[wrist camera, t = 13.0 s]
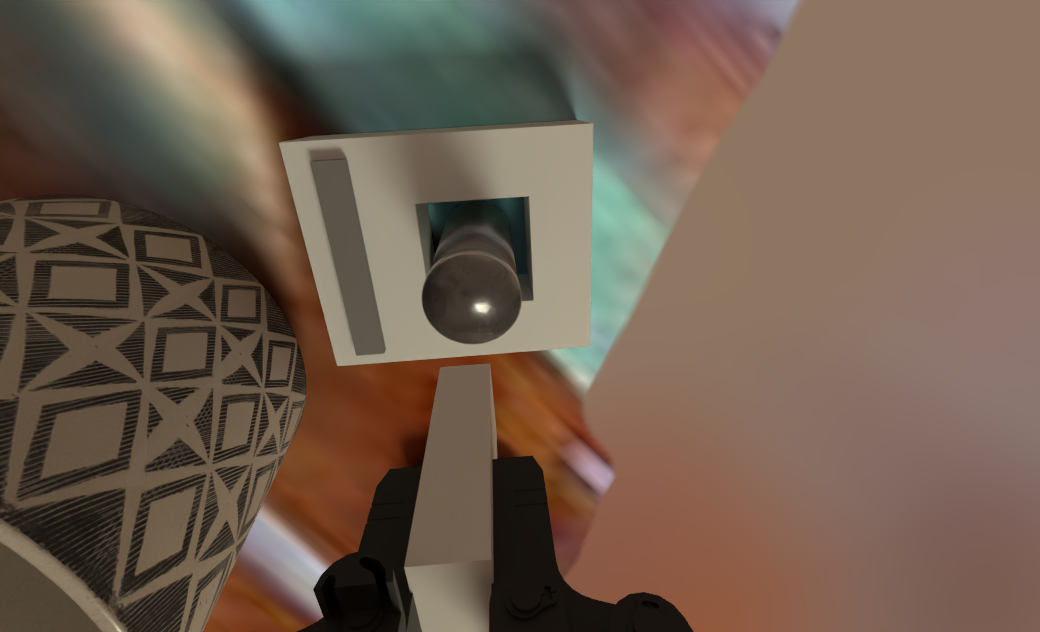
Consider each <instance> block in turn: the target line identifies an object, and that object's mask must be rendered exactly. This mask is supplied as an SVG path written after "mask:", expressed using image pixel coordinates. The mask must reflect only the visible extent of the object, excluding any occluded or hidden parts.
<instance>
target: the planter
mask: <svg viewBox="0 0 1040 632" xmlns="http://www.w3.org/2000/svg"><path fill="white" fill-rule="evenodd" d="M305 398H306V375H305V368H304V363H303V359H302V354H301V351H300V348H299V345H298V342H297V340H296V337H295V335H294V333H293V330H292V328H291V326H290V325H289V323H288V321H287V319H286V317H285V316H284V314H283V312H282V311H281V309H280V308H279V306H278V305H277V303H276V302H275V301H274V299H273V298H272V296H271V295H270V294H269V293H268V292H267V290H266V289H265V288H264V287H263V286H262V285H261V283H260V282H259V281H258V280H257V279H256V278H255V277H254V276H253V275H252V274H251V273H250V272H249V271H248V270H247V269H246V268H245V267H243V266H242V265H241V264H240V263H239V262H238V261H236V260H235V259H234V258H233V257H232V256H230V255H229V254H228V253H226V252H225V251H224V250H222V249H221V248H220V247H218V246H217V245H215V244H214V243H212V242H211V241H209V240H208V239H206V238H204V237H203V236H201V235H199V234H198V233H196V232H194V231H192V230H191V229H189V228H187V227H185V226H183V225H181V224H179V223H177V222H174V221H172V220H170V219H168V218H165V217H163V216H160V215H158V214H156V213H153V212H150V211H147V210H144V209H141V208H138V207H135V206H132V205H128V204H124V203H121V202H116V201H111V200H106V199H101V198H94V197H87V196H74V195H42V196H30V197H22V198H15V199H7V200H0V632H203V630H204V628H205V626H206V623H207V621H208V619H209V617H210V615H211V613H212V611H213V608H214V606H215V604H216V602H217V600H218V598H219V596H220V593H221V591H222V589H223V587H224V585H225V583H226V581H227V578H228V576H229V574H230V572H231V570H232V568H233V566H234V563H235V561H236V559H237V557H238V555H239V553H240V551H241V548H242V546H243V544H244V542H245V540H246V538H247V536H248V533H249V531H250V529H251V527H252V525H253V523H254V521H255V518H256V516H257V514H258V512H259V510H260V508H261V506H262V503H263V501H264V499H265V497H266V495H267V493H268V491H269V488H270V486H271V484H272V482H273V480H274V478H275V476H276V473H277V471H278V469H279V467H280V465H281V463H282V461H283V459H284V456H285V454H286V452H287V450H288V448H289V446H290V444H291V441H292V439H293V437H294V435H295V433H296V431H297V428H298V426H299V423H300V421H301V418H302V414H303V410H304V404H305Z"/></svg>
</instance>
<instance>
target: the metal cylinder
mask: <svg viewBox="0 0 1040 632" xmlns="http://www.w3.org/2000/svg"><path fill="white" fill-rule="evenodd" d="M521 304H522V295H521V288H520V284H519V281H518V277H517V271H516V265H515V259H514V252H513V246H512V240H511V234H510V228H509V224H508V221H507V219H506V217H505V216H504V214H503V213H502V212H501V211H500V210H499V209H498V208H497V207H495V206H494V205H492V204H490V203H487V202H484V201H469V202H466V203H463V204H461V205H460V206H458V207H457V208H455V209H454V210H453V211H452V212H451V214H450V215H449V217H448V219H447V221H446V224H445V227H444V230H443V233H442V236H441V239H440V242H439V245H438V248H437V251H436V254H435V256H434V259H433V262H432V265H431V268H430V271H429V273H428V275H427V277H426V280H425V282H424V285H423V289H422V307H423V311H424V313H425V316H426V318H427V320H428V321H429V323H430V324H431V325H432V327H433V328H434V329H435V330H436V331H437V332H439V333H440V334H441V335H443V336H444V337H446V338H448V339H450V340H452V341H455V342H458V343H462V344H470V345H472V344H483V343H487V342H490V341H493V340H495V339H497V338H499V337H501V336H502V335H504V334H505V333H506V332H507V331H508V330H509V329H510V328H511V327H512V326H513V325H514V323H515V322H516V320H517V318H518V316H519V313H520V310H521Z"/></svg>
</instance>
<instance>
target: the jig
mask: <svg viewBox="0 0 1040 632" xmlns="http://www.w3.org/2000/svg"><path fill="white" fill-rule="evenodd" d="M279 145H280V149H281V153H282V157H283V161H284V164H285V168H286V172H287V176H288V180H289V183H290V187H291V191H292V195H293V199H294V202H295V206H296V210H297V214H298V218H299V222H300V225H301V229H302V233H303V237H304V241H305V244H306V248H307V252H308V256H309V260H310V264H311V267H312V271H313V275H314V279H315V283H316V286H317V290H318V294H319V298H320V302H321V306H322V309H323V313H324V317H325V321H326V325H327V328H328V332H329V336H330V340H331V344H332V348H333V351H334V355H335V359H336V363H337V366H345V365H358V364H371V363H384V362H396V361H409V360H422V359H435V358H447V357H460V356H473V355H486V354H498V353H511V352H524V351H537V350H549V349H562V348H575V347H588V346H590V316H591V245H592V174H593V123H589V122H584V121H580V120H568V121H552V122H535V123H519V124H503V125H486V126H470V127H453V128H437V129H420V130H404V131H388V132H371V133H355V134H338V135H322V136H310V137H305V138H300V139H295V140H290V141H285V142H280V143H279ZM511 197H524V211H525V232H526V252H527V273H528V274H519V275H517V277H518V281H519V284H520V288H521V295H522V304H521V310H520V313H519V316H518V318H517V320H516V322H515V323H514V325H513V326H512V327H511V328H510V329H509V330H508V331H507V332H506V333H505V334H504V335H502V336H501V337H499V338H497V339H495V340H493V341H490V342H487V343H483V344H472V345H470V344H462V343H458V342H455V341H452V340H450V339H448V338H446V337H444V336H443V335H441V334H440V333H439V332H437V331H436V330H435V329H434V328H433V327H432V325H431V324H430V323H429V321H428V320H427V318H426V316H425V313H424V311H423V307H422V289H423V285H424V282H425V280H426V277H427V275H428V273H429V271H430V268H431V265H432V262H433V259H434V256H435V253H434V246H433V239H432V232H431V225H430V217H429V210H428V203H435V202H450V201H466V200H481V199H496V198H511Z"/></svg>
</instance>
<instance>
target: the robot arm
mask: <svg viewBox="0 0 1040 632" xmlns="http://www.w3.org/2000/svg"><path fill="white" fill-rule="evenodd" d="M313 590H314V593H315V595H316V598H317V600H318V603H319V606H320V608H321V611H322V614H323V616H324V617H323V618H322V619H320V620H319V621H318V622H316V623H314V624H312V625H310V626H308V627H306V628H304V629H302V630H299V631H297V632H693V630H692V629H691V627H690V626H689V624H688V622H687V621H686V619H685V618H684V617H683V615H682V614H681V613H680V612H679V611H678V610H677V609H676V607H675V606H674V605H673V604H671V603H670V602H668V601H666V600H665V599H663V598H662V597H660V596H657V595H653V594H649V593H645V592H642V593H635V594H629V595H627V596H626V597H625V598H623V599H621V600H620V601H618V602H617V604H616V605H615V604H610V603H607V602H603V601H598V600H594V599H591V598H589V597H586V596H583V595H581V594H580V593H578V592H576V591H575V590H573V589H572V588H571V587H570V586H569V585H568V584H567V583H566V582H565V581H564V579H563V577H562V576H561V574H560V572H559V570H558V566H557V563H556V557H555V550H554V543H553V537H552V530H551V523H550V516H549V509H548V503H547V496H546V490H545V482H544V475H543V470H542V469H541V467H540V466H539V464H538V463H537V462H536V460H535V459H534V458H533V456H524V457H512V458H500V459H497V433H496V422H495V412H494V401H493V391H492V380H491V370H490V364H479V365H466V366H453V367H440V372H439V378H438V383H437V389H436V394H435V400H434V405H433V411H432V417H431V422H430V428H429V433H428V439H427V444H426V450H425V455H424V461H423V466H422V467H410V468H398V469H390V470H389V471H388V473H387V474H386V475H385V476H384V478H383V479H382V480H381V482H380V483H379V484H378V485H377V488H376V491H375V495H374V498H373V502H372V508H371V509H370V512H369V515H368V519H367V524H366V526H365V529H364V533H363V536H362V540H361V543H360V547H359V550H358V552H355V553H352V554H348V555H346V556H344V557H343V558H341V559H339V560H338V561H336V562H334V563H333V564H332V565H331V566H330V567H329V568H328V569H327V570H326V571H325V572H324V573H323V574H322V575H321V577H320V578H319V580H318V582H317V584H316V586H315V587H314V589H313Z"/></svg>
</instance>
